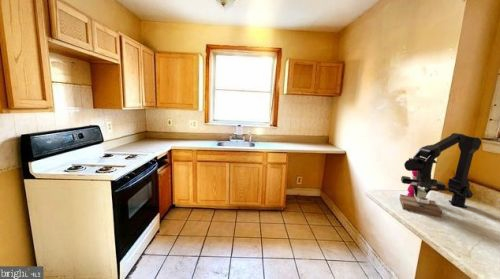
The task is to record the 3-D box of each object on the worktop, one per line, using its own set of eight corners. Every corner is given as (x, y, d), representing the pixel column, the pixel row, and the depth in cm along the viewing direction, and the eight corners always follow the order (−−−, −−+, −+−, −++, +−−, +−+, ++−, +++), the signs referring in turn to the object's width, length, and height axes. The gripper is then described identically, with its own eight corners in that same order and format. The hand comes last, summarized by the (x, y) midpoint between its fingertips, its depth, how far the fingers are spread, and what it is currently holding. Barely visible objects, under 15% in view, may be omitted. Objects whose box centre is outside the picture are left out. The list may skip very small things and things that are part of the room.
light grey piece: (412, 195, 125) (414, 185, 124) (422, 196, 123) (424, 187, 122) (417, 205, 113) (419, 194, 112) (428, 207, 111) (430, 196, 110)
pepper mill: (403, 195, 134) (408, 164, 130) (411, 194, 136) (417, 163, 133) (415, 200, 127) (421, 168, 124) (423, 199, 129) (430, 167, 126)
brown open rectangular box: (399, 199, 129) (401, 187, 127) (433, 205, 121) (436, 193, 120) (402, 209, 116) (405, 196, 115) (440, 217, 109) (443, 203, 108)
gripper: (406, 171, 114) (401, 198, 117) (452, 178, 106) (445, 207, 108) (403, 166, 124) (398, 191, 127) (445, 172, 115) (439, 199, 118)
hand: (419, 197), depth 120 cm, fingers closed on light grey piece, 3 cm apart
